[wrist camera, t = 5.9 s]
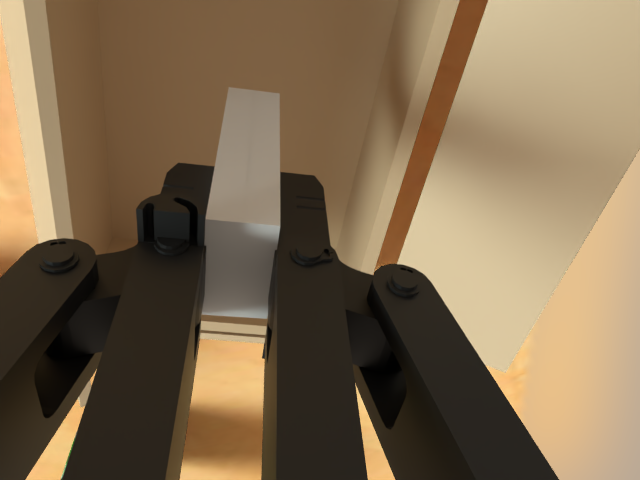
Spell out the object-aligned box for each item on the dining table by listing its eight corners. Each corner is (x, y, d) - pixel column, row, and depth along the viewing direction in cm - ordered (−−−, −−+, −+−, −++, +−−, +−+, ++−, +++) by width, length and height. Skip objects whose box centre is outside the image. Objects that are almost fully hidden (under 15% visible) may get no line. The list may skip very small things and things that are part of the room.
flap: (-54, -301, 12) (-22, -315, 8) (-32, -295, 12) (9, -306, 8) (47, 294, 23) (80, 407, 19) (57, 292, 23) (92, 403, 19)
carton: (57, -380, 16) (-41, -468, 11) (480, -267, 18) (554, -299, 13) (104, 246, 29) (70, 328, 25) (338, 270, 31) (349, 350, 27)
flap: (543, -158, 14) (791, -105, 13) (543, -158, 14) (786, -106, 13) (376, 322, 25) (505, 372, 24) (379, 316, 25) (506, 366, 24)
